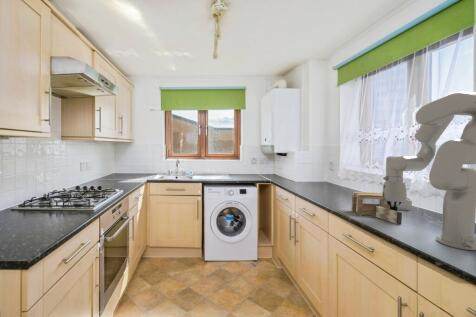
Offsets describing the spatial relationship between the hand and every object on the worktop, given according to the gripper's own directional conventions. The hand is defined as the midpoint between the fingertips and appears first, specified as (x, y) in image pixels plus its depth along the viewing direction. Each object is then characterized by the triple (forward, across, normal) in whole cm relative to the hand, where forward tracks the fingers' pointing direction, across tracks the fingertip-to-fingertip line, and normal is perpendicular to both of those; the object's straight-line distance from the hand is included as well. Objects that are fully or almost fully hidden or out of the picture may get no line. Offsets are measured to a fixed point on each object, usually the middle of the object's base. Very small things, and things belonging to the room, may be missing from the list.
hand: (393, 213), depth 121 cm
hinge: (+4, +16, +27) cm, 32 cm away
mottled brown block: (+4, -3, 0) cm, 5 cm away
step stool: (+3, -6, +12) cm, 14 cm away
